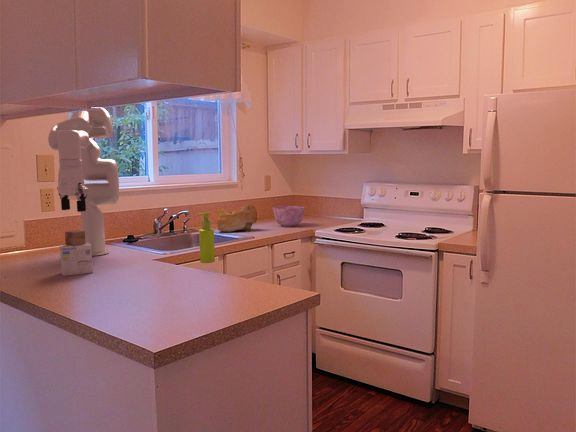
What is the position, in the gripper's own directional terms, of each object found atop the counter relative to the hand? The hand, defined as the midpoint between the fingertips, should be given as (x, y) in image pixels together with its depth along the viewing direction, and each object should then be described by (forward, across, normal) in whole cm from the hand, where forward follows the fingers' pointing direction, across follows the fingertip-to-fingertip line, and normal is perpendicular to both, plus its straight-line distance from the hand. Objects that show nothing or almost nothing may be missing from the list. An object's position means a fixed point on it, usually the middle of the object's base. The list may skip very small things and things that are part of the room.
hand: (73, 210), depth 192 cm
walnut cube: (+13, +1, -1) cm, 13 cm away
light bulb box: (+24, +1, -1) cm, 24 cm away
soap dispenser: (+24, +29, +39) cm, 54 cm away
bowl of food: (+26, -4, +148) cm, 151 cm away
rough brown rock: (+26, -20, +117) cm, 122 cm away
